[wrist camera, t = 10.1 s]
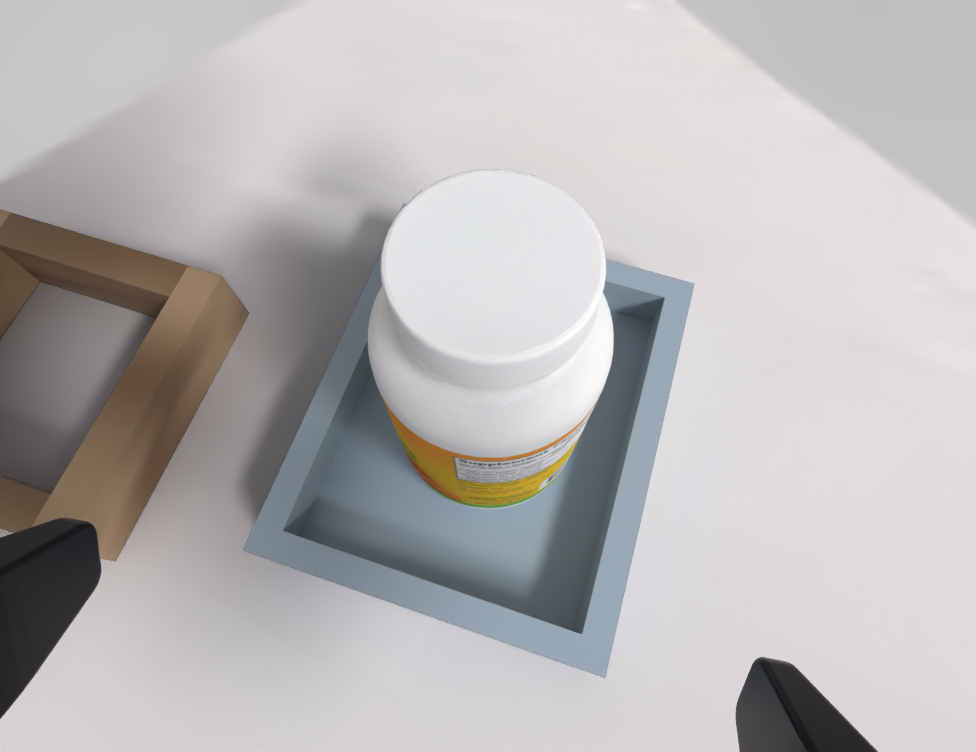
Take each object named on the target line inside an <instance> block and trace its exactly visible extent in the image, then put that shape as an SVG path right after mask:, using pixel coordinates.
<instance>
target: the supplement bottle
mask: <svg viewBox="0 0 976 752" xmlns="http://www.w3.org/2000/svg"><path fill="white" fill-rule="evenodd" d="M380 268H381V282H382V287H381V289H380V291H379V292H378V294H377V297H376V299H375V301H374V304H373V308H372V312H371V315H370V320H369V326H368V354H369V360H370V365H371V368H372V372H373V375H374V379H375V381H376V384H377V387H378V389H379V392H380V394H381V396H382V399H383V401H384V403H385V406H386V408H387V410H388V412H389V415H390V417H391V420H392V422H393V425H394V427H395V429H396V432H397V434H398V436H399V439H400V441H401V443H402V445H403V448H404V450H405V452H406V454H407V457H408V459H409V461H410V463H411V464H412V466H413V468H414V469H415V471H416V472H417V474H418V475H419V476H420V478H421V479H422V480H423V481H424V482H425V483H426V484H427V485H428V486H429V487H430V488H431V489H432V490H433V491H435V492H436V493H437V494H439V495H440V496H442V497H443V498H445V499H447V500H449V501H451V502H453V503H456V504H458V505H461V506H465V507H469V508H474V509H484V510H491V509H504V508H508V507H513V506H516V505H519V504H522V503H524V502H526V501H528V500H530V499H532V498H533V497H535V496H537V495H538V494H540V493H541V492H542V491H544V490H545V489H546V488H547V487H548V486H549V485H550V484H551V483H552V482H553V481H554V480H555V479H556V478H557V476H558V475H559V474H560V472H561V471H562V470H563V468H564V467H565V465H566V463H567V461H568V460H569V458H570V456H571V454H572V452H573V450H574V448H575V446H576V443H577V441H578V439H579V437H580V435H581V433H582V431H583V429H584V427H585V425H586V423H587V421H588V419H589V417H590V415H591V413H592V411H593V409H594V407H595V405H596V403H597V401H598V399H599V396H600V394H601V392H602V390H603V388H604V385H605V382H606V379H607V376H608V373H609V370H610V367H611V362H612V356H613V345H614V334H613V323H612V317H611V313H610V309H609V306H608V303H607V301H606V298H605V296H604V294H603V289H604V284H605V277H606V259H605V251H604V247H603V244H602V240H601V236H600V234H599V232H598V230H597V228H596V226H595V224H594V222H593V220H592V219H591V217H590V216H589V215H588V213H587V212H586V211H585V210H584V209H583V207H582V206H581V205H580V204H579V203H578V202H577V201H576V200H575V199H574V198H572V197H571V196H570V195H569V194H567V193H566V192H565V191H563V190H562V189H561V188H559V187H557V186H555V185H554V184H552V183H550V182H548V181H546V180H544V179H541V178H539V177H536V176H534V175H530V174H525V173H521V172H518V171H512V170H501V169H483V170H473V171H468V172H463V173H459V174H456V175H452V176H449V177H446V178H444V179H442V180H440V181H437V182H436V183H434V184H432V185H430V186H429V187H427V188H426V189H424V190H422V191H421V192H419V193H418V194H417V195H416V196H414V197H413V198H412V199H411V200H410V201H409V202H408V203H407V204H406V205H405V206H404V207H403V208H402V210H401V211H400V212H399V213H398V215H397V216H396V218H395V219H394V221H393V223H392V224H391V226H390V228H389V230H388V232H387V235H386V237H385V241H384V244H383V248H382V253H381V264H380Z"/></svg>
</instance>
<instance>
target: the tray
mask: <svg viewBox="0 0 976 752" xmlns="http://www.w3.org/2000/svg"><path fill="white" fill-rule="evenodd" d="M405 205H406V204H404V203H403V205H402V208H403V207H404V206H405ZM402 208H401V210H402ZM401 210H400V211H401ZM381 253H382V251H381ZM381 253H380V255H379V257H378V259H377V261H376V264H375V266H374V268H373V270H372V272H371V274H370V277H369V279H368V281H367V283H366V285H365V287H364V289H363V292H362V294H361V296H360V298H359V300H358V302H357V305H356V307H355V309H354V311H353V313H352V315H351V317H350V320H349V322H348V324H347V326H346V328H345V330H344V333H343V335H342V337H341V339H340V341H339V343H338V345H337V348H336V350H335V352H334V354H333V356H332V358H331V361H330V363H329V365H328V367H327V369H326V371H325V374H324V376H323V378H322V380H321V382H320V384H319V386H318V389H317V391H316V393H315V395H314V397H313V399H312V402H311V404H310V406H309V408H308V410H307V412H306V414H305V417H304V419H303V421H302V423H301V425H300V427H299V430H298V432H297V434H296V436H295V438H294V440H293V442H292V445H291V447H290V449H289V451H288V453H287V455H286V458H285V460H284V462H283V464H282V466H281V468H280V470H279V473H278V475H277V477H276V479H275V481H274V483H273V486H272V488H271V490H270V492H269V494H268V496H267V499H266V501H265V503H264V505H263V507H262V509H261V511H260V514H259V516H258V518H257V520H256V522H255V524H254V527H253V529H252V531H251V533H250V535H249V537H248V539H247V542H246V544H245V546H244V548H243V551H246V552H249V553H252V554H255V555H257V556H260V557H263V558H266V559H269V560H272V561H274V562H277V563H280V564H283V565H286V566H289V567H291V568H294V569H297V570H300V571H303V572H306V573H308V574H311V575H314V576H317V577H320V578H323V579H325V580H328V581H331V582H334V583H337V584H340V585H342V586H345V587H348V588H351V589H354V590H357V591H359V592H362V593H365V594H368V595H371V596H374V597H376V598H379V599H382V600H385V601H388V602H391V603H393V604H396V605H399V606H402V607H405V608H408V609H410V610H413V611H416V612H419V613H422V614H425V615H427V616H430V617H433V618H436V619H439V620H442V621H444V622H447V623H450V624H453V625H456V626H459V627H461V628H464V629H467V630H470V631H473V632H476V633H478V634H481V635H484V636H487V637H490V638H493V639H495V640H498V641H501V642H504V643H507V644H510V645H512V646H515V647H518V648H521V649H524V650H527V651H529V652H532V653H535V654H538V655H541V656H544V657H546V658H549V659H552V660H555V661H558V662H561V663H563V664H566V665H569V666H572V667H575V668H578V669H580V670H583V671H586V672H589V673H592V674H595V675H597V676H600V677H603V678H605V676H606V672H607V668H608V663H609V659H610V654H611V650H612V645H613V641H614V637H615V632H616V628H617V623H618V619H619V615H620V610H621V606H622V601H623V597H624V592H625V588H626V584H627V579H628V575H629V570H630V566H631V562H632V557H633V553H634V548H635V544H636V539H637V535H638V531H639V526H640V522H641V517H642V513H643V509H644V504H645V500H646V495H647V491H648V487H649V482H650V478H651V473H652V469H653V464H654V460H655V456H656V451H657V447H658V442H659V438H660V434H661V429H662V425H663V420H664V416H665V411H666V407H667V403H668V398H669V394H670V389H671V385H672V381H673V376H674V372H675V367H676V363H677V358H678V354H679V350H680V345H681V341H682V336H683V332H684V328H685V323H686V319H687V314H688V310H689V306H690V301H691V297H692V292H693V288H694V283H690V282H687V281H683V280H679V279H676V278H672V277H669V276H665V275H661V274H658V273H654V272H650V271H647V270H643V269H640V268H636V267H632V266H629V265H625V264H621V263H618V262H614V261H611V260H607V259H606V277H605V284H604V289H603V294H604V296H605V298H606V301H607V303H608V306H609V309H610V313H611V317H612V323H613V334H614V345H613V356H612V362H611V367H610V370H609V373H608V376H607V379H606V382H605V385H604V388H603V390H602V392H601V394H600V396H599V399H598V401H597V403H596V405H595V407H594V409H593V411H592V413H591V415H590V417H589V419H588V421H587V423H586V425H585V427H584V429H583V431H582V433H581V435H580V437H579V439H578V441H577V443H576V446H575V448H574V450H573V452H572V454H571V456H570V458H569V460H568V461H567V463H566V465H565V467H564V468H563V470H562V471H561V472H560V474H559V475H558V476H557V478H556V479H555V480H554V481H553V482H552V483H551V484H550V485H549V486H548V487H547V488H546V489H545V490H544V491H542V492H541V493H540V494H538V495H537V496H535V497H533V498H532V499H530V500H528V501H526V502H524V503H522V504H519V505H516V506H513V507H508V508H504V509H491V510H484V509H474V508H469V507H465V506H461V505H458V504H456V503H453V502H451V501H449V500H447V499H445V498H443V497H442V496H440V495H439V494H437V493H436V492H435V491H433V490H432V489H431V488H430V487H429V486H428V485H427V484H426V483H425V482H424V481H423V480H422V479H421V478H420V476H419V475H418V474H417V472H416V471H415V469H414V468H413V466H412V464H411V463H410V461H409V459H408V457H407V454H406V452H405V450H404V448H403V445H402V443H401V441H400V439H399V436H398V434H397V432H396V429H395V427H394V425H393V422H392V420H391V417H390V415H389V412H388V410H387V408H386V406H385V403H384V401H383V399H382V396H381V394H380V392H379V389H378V387H377V384H376V381H375V379H374V375H373V372H372V368H371V365H370V360H369V354H368V326H369V320H370V315H371V312H372V308H373V304H374V301H375V299H376V297H377V294H378V292H379V291H380V289H381V287H382V282H381V268H380V264H381Z"/></svg>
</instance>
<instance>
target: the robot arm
mask: <svg viewBox="0 0 976 752" xmlns="http://www.w3.org/2000/svg"><path fill="white" fill-rule="evenodd" d="M100 576H101V562H100V554H99V545H98V537H97V531H96V528H95V527H94V525H93V524H92V523H90V522H87V521H82V520H77V519H72V518H64V517H63V518H57V519H54V520H51V521H48V522H45V523H42V524H40V525H37V526H34V527H31V528H28V529H25V530H22V531H19V532H16V533H13V534H10V535H7V536H4V537H1V538H0V719H1V718H2V716H3V715H4V714H5V713H6V712H7V710H8V709H9V708H10V707H11V705H12V704H13V703H14V702H15V700H16V699H17V698H18V697H19V695H20V694H21V693H22V692H23V690H24V689H25V688H26V686H27V685H28V684H29V682H30V681H31V680H32V678H33V677H34V676H35V674H36V673H37V671H38V670H39V668H40V667H41V666H42V664H43V663H44V661H45V660H46V658H47V657H48V656H49V654H50V653H51V651H52V650H53V648H54V647H55V646H56V644H57V643H58V641H59V640H60V638H61V637H62V636H63V634H64V633H65V631H66V630H67V628H68V627H69V626H70V624H71V623H72V621H73V620H74V618H75V617H76V616H77V614H78V613H79V611H80V610H81V608H82V607H83V606H84V604H85V603H86V601H87V600H88V598H89V597H90V596H91V594H92V593H93V591H94V590H95V588H96V586H97V584H98V582H99V579H100ZM736 726H737V734H738V742H739V749H740V752H878V751H877V750H876V749H875V748H874V747H873V746H872V745H871V744H870V743H869V742H868V741H867V740H866V739H865V738H864V737H863V736H862V735H861V734H860V733H859V732H858V731H857V730H856V729H855V728H854V727H853V726H852V725H851V724H850V722H849V721H848V720H847V719H846V718H845V717H844V716H843V715H842V714H841V713H840V712H839V711H838V710H837V709H836V708H835V707H834V706H833V705H832V704H831V703H830V702H829V701H828V700H827V699H826V698H825V697H824V696H823V695H822V694H821V693H820V692H819V691H818V690H817V688H816V687H815V686H814V685H813V684H812V683H811V682H810V681H809V680H808V679H807V678H806V677H805V676H804V675H803V674H802V673H801V672H800V671H799V670H798V669H797V668H796V667H795V666H794V665H792V664H791V663H788V662H786V661H781V660H776V659H771V658H766V657H760V658H757V659H756V660H755V661H754V663H753V664H752V667H751V669H750V672H749V674H748V676H747V679H746V681H745V684H744V686H743V689H742V691H741V694H740V696H739V699H738V702H737V706H736Z"/></svg>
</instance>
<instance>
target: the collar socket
mask: <svg viewBox="0 0 976 752" xmlns="http://www.w3.org/2000/svg"><path fill="white" fill-rule="evenodd" d="M40 281H41V282H44V283H47V284H50V285H53V286H57V287H60V288H63V289H66V290H69V291H73V292H76V293H79V294H82V295H85V296H89V297H92V298H95V299H98V300H101V301H105V302H108V303H111V304H114V305H117V306H121V307H124V308H127V309H130V310H133V311H137V312H140V313H143V314H146V315H149V316H153V317H156V318H157V319H156V320H155V322H154V323H153V325H152V327H151V328H150V330H149V332H148V333H147V335H146V337H145V338H144V340H143V342H142V343H141V345H140V347H139V348H138V350H137V352H136V353H135V355H134V357H133V358H132V360H131V362H130V363H129V365H128V367H127V368H126V370H125V372H124V373H123V375H122V377H121V378H120V380H119V382H118V383H117V385H116V387H115V388H114V390H113V392H112V393H111V395H110V397H109V398H108V400H107V402H106V403H105V405H104V407H103V408H102V410H101V412H100V413H99V415H98V417H97V418H96V420H95V422H94V423H93V425H92V427H91V428H90V430H89V432H88V433H87V435H86V437H85V438H84V440H83V442H82V443H81V445H80V447H79V448H78V450H77V452H76V453H75V455H74V457H73V458H72V460H71V462H70V463H69V465H68V467H67V468H66V470H65V472H64V473H63V475H62V477H61V478H60V480H59V482H58V483H57V485H56V487H55V488H54V490H53V492H52V493H50V492H47V491H44V490H41V489H38V488H36V487H33V486H30V485H27V484H24V483H21V482H19V481H16V480H13V479H10V478H7V477H5V476H2V475H0V528H2V529H4V530H7V531H10V532H13V533H16V532H19V531H22V530H25V529H28V528H31V527H34V526H37V525H40V524H42V523H45V522H48V521H51V520H54V519H57V518H63V517H64V518H72V519H77V520H82V521H87V522H90V523H92V524H93V525H94V527H95V528H96V531H97V537H98V545H99V554H100V558H101V559H107V560H112V561H116V560H117V558H118V556H119V554H120V552H121V550H122V548H123V547H124V545H125V543H126V541H127V539H128V537H129V535H130V533H131V532H132V530H133V528H134V526H135V524H136V522H137V520H138V519H139V517H140V515H141V513H142V511H143V509H144V507H145V506H146V504H147V502H148V500H149V498H150V496H151V494H152V493H153V491H154V489H155V487H156V485H157V483H158V481H159V480H160V478H161V476H162V474H163V472H164V470H165V468H166V466H167V465H168V463H169V461H170V459H171V457H172V455H173V453H174V452H175V450H176V448H177V446H178V444H179V442H180V440H181V439H182V437H183V435H184V433H185V431H186V429H187V427H188V426H189V424H190V422H191V420H192V418H193V416H194V414H195V413H196V411H197V409H198V407H199V405H200V403H201V401H202V399H203V398H204V396H205V394H206V392H207V390H208V388H209V386H210V385H211V383H212V381H213V379H214V377H215V375H216V373H217V372H218V370H219V368H220V366H221V364H222V362H223V360H224V359H225V357H226V355H227V353H228V351H229V349H230V347H231V346H232V344H233V342H234V340H235V338H236V336H237V334H238V333H239V331H240V329H241V327H242V325H243V323H244V321H245V319H246V318H247V316H248V314H249V312H248V311H247V310H246V308H245V307H244V306H243V304H242V303H241V302H240V300H239V299H238V297H237V296H236V295H235V293H234V292H233V291H232V289H231V288H230V287H229V285H228V284H227V282H226V281H225V280H224V278H223V277H222V276H220V275H217V274H214V273H210V272H207V271H204V270H200V269H197V268H194V267H190V266H187V265H184V264H180V263H177V262H174V261H170V260H167V259H164V258H160V257H157V256H154V255H150V254H147V253H144V252H140V251H137V250H134V249H130V248H127V247H124V246H120V245H117V244H114V243H110V242H107V241H104V240H100V239H97V238H94V237H90V236H87V235H84V234H80V233H77V232H74V231H70V230H67V229H64V228H60V227H57V226H54V225H50V224H47V223H44V222H40V221H37V220H34V219H30V218H27V217H24V216H20V215H17V214H14V213H10V212H7V211H4V210H0V338H1V336H2V335H3V334H4V332H5V331H6V329H7V328H8V326H9V325H10V324H11V322H12V321H13V319H14V318H15V316H16V315H17V314H18V312H19V311H20V309H21V308H22V306H23V305H24V304H25V302H26V301H27V299H28V298H29V296H30V295H31V294H32V292H33V291H34V289H35V288H36V286H37V285H38V284H39V282H40Z"/></svg>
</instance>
